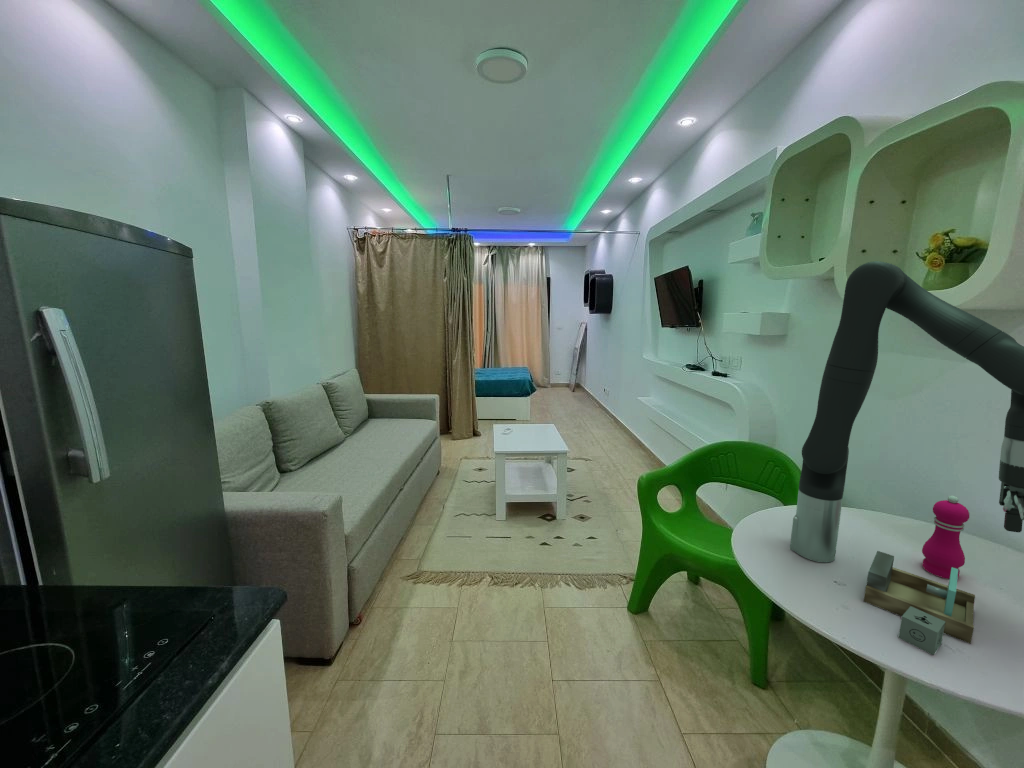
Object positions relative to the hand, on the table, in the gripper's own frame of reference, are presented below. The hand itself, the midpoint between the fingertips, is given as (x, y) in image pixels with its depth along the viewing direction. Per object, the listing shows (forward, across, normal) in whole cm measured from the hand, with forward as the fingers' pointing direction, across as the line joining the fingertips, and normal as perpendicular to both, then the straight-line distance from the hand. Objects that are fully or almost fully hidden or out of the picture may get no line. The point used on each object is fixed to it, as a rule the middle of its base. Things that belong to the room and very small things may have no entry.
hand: (1023, 540), depth 79 cm
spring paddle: (+18, +2, -12) cm, 21 cm away
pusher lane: (+18, +1, -15) cm, 23 cm away
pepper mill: (+19, -18, -6) cm, 26 cm away
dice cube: (+19, +13, -17) cm, 29 cm away
